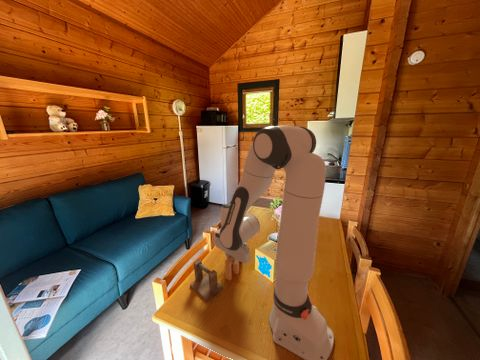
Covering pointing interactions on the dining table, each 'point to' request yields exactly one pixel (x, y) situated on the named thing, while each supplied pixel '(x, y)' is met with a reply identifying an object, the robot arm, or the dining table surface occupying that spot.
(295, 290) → the robot arm
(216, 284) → the hook rail
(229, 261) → the cord bight
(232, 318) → the dining table surface
